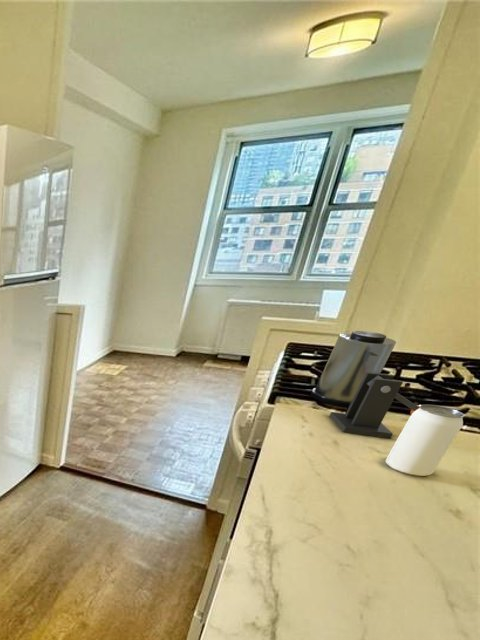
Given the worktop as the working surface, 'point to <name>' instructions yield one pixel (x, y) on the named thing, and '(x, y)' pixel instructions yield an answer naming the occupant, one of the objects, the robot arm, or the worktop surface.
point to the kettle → (351, 366)
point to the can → (425, 440)
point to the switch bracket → (369, 406)
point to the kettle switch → (401, 399)
